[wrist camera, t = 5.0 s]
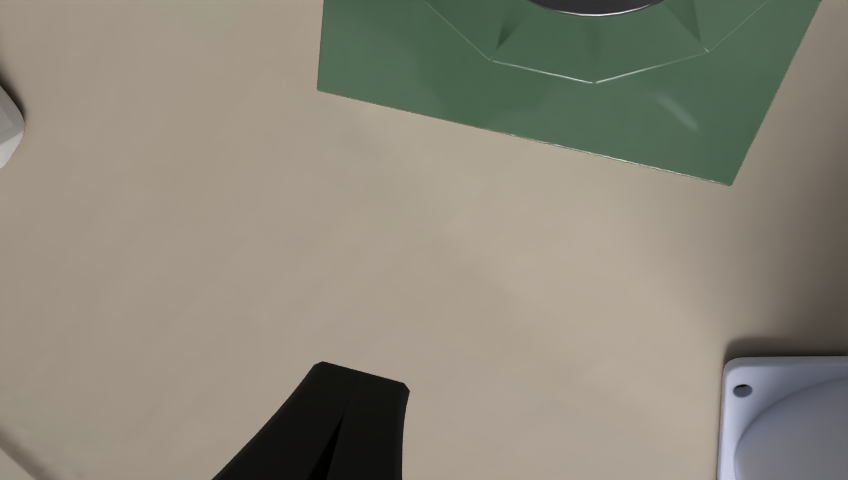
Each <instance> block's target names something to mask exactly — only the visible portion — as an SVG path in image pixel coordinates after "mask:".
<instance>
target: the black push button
mask: <svg viewBox="0 0 848 480" xmlns="http://www.w3.org/2000/svg"><path fill="white" fill-rule="evenodd" d="M527 1H528V2H530V3H533V4H535V5H537V6H539V7H542V8H544V9H546V10H550V11H553V12H556V13H560V14H563V15H570V16H577V17H594V18H602V17H611V16H620V15H624V14H628V13H632V12H637V11H640V10H643V9H646V8H648V7H651V6H654V5H656V4H659V3H661V2H663V1H665V0H527Z"/></svg>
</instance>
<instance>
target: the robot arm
mask: <svg viewBox="0 0 848 480" xmlns="http://www.w3.org/2000/svg"><path fill="white" fill-rule="evenodd" d="M741 384H746V385H747V386H745V387H741V388H738V387H736V386H737V385H741ZM409 392H410V390H409V389H408V388H407V386H406V385H405V384H404V383H402V382H398V381H395V380H391V379H387V378H383V377H380V376H376V375H372V374H368V373H365V372H361V371H357V370H353V369H350V368H346V367H342V366H338V365H335V364H331V363H327V362H323V361H322V362H320V363H317V364H315V365H314V366H313V367H312V369H311V370H310V371H309V373H308V374H307V375H306V377H305V378H304V379H303V381H302V382H301V383H300V384H299V386H298V387H297V388H296V389H295V391H294V392H293V393H292V394H291V396H290V397H289V398H288V399H287V400H286V401H285V403H284V404H283V405H282V406H281V407H280V408H279V410H278V411H277V412H276V413H275V414H274V415H273V416H272V417H271V419H270V420H269V421H268V422H267V423H266V424H265V425H264V426H263V427H262V429H261V430H260V431H259V432H258V433H257V434H256V435H255V436H254V437H253V438H252V439H251V440H250V441H249V442H248V443H247V444H246V445H245V446H244V447H243V448H242V449H241V450H240V451H239V453H238V454H237V455H236V456H235V457H234V458H233V459H232V460H231V461H230V462H229V463H228V464H227V465H226V466H225V467H224V468H223V469H222V470H221V471H220V472H219V473H218V474H217V475H216V476H215V477H214V478H213V479H212V480H402V444H403V429H404V419H405V412H406V405H407V401H408V397H409ZM717 480H848V356H804V357H740V358H735V359H733V360H730V361H729V362H728V363H727V364H726V365H725V366H724V369H723V383H722V401H721V418H720V435H719V452H718V470H717Z"/></svg>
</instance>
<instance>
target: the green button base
mask: <svg viewBox="0 0 848 480" xmlns="http://www.w3.org/2000/svg"><path fill="white" fill-rule="evenodd" d="M820 2H821V0H665V1H663V2H661V3H659V4H656V5H654V6H651V7H648V8H646V9H643V10H640V11H637V12H632V13H628V14H624V15H620V16H611V17H602V18H594V17H577V16H570V15H563V14H560V13H556V12H553V11H550V10H546V9H544V8H542V7H539V6H537V5H535V4H533V3H530V2H528V1H527V0H324V4H323V16H322V29H321V42H320V55H319V67H318V80H317V90H318V91H321V92H326V93H330V94H334V95H338V96H343V97H347V98H351V99H356V100H360V101H364V102H369V103H373V104H377V105H382V106H386V107H390V108H395V109H399V110H403V111H407V112H412V113H416V114H420V115H425V116H429V117H433V118H438V119H442V120H446V121H451V122H455V123H459V124H464V125H468V126H472V127H476V128H481V129H485V130H489V131H494V132H498V133H502V134H507V135H511V136H515V137H520V138H524V139H528V140H533V141H537V142H541V143H545V144H550V145H554V146H558V147H563V148H567V149H571V150H576V151H580V152H584V153H589V154H593V155H597V156H602V157H606V158H610V159H614V160H619V161H623V162H627V163H632V164H636V165H640V166H645V167H649V168H653V169H658V170H662V171H666V172H671V173H675V174H679V175H683V176H688V177H692V178H696V179H701V180H705V181H709V182H714V183H718V184H722V185H727V186H731V185H732V184H733V182H734V179H735V177H736V175H737V173H738V171H739V169H740V167H741V165H742V163H743V161H744V159H745V157H746V155H747V153H748V151H749V148H750V146H751V144H752V142H753V140H754V138H755V136H756V134H757V132H758V130H759V128H760V126H761V124H762V122H763V120H764V118H765V115H766V113H767V111H768V109H769V107H770V105H771V103H772V101H773V99H774V97H775V95H776V93H777V91H778V89H779V87H780V85H781V82H782V80H783V78H784V76H785V74H786V72H787V70H788V68H789V66H790V64H791V62H792V60H793V58H794V56H795V54H796V52H797V49H798V47H799V45H800V43H801V41H802V39H803V37H804V35H805V33H806V31H807V29H808V27H809V25H810V23H811V21H812V19H813V16H814V14H815V12H816V10H817V8H818V6H819V4H820Z"/></svg>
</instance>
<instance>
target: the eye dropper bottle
mask: <svg viewBox="0 0 848 480" xmlns="http://www.w3.org/2000/svg"><path fill="white" fill-rule="evenodd" d="M24 129H25V123H24V120H23V117H22V115H21V113H20V111H19V110H18V108H17V106H16V105H15V104H14V102H13V101H12V100H11V98H10V97H9V96H8V94H7V93H6V92H5V91H4V89H3V88H2V87H1V86H0V169H1V168H2V167H3V166H5V165H6V163H7V162H8V160H9V159H10V158H11V156H12V154H13V153H14V151H15V150H16V148H17V146H18V145H19V143H20V141H21V139H22V137H23V135H24Z"/></svg>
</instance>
